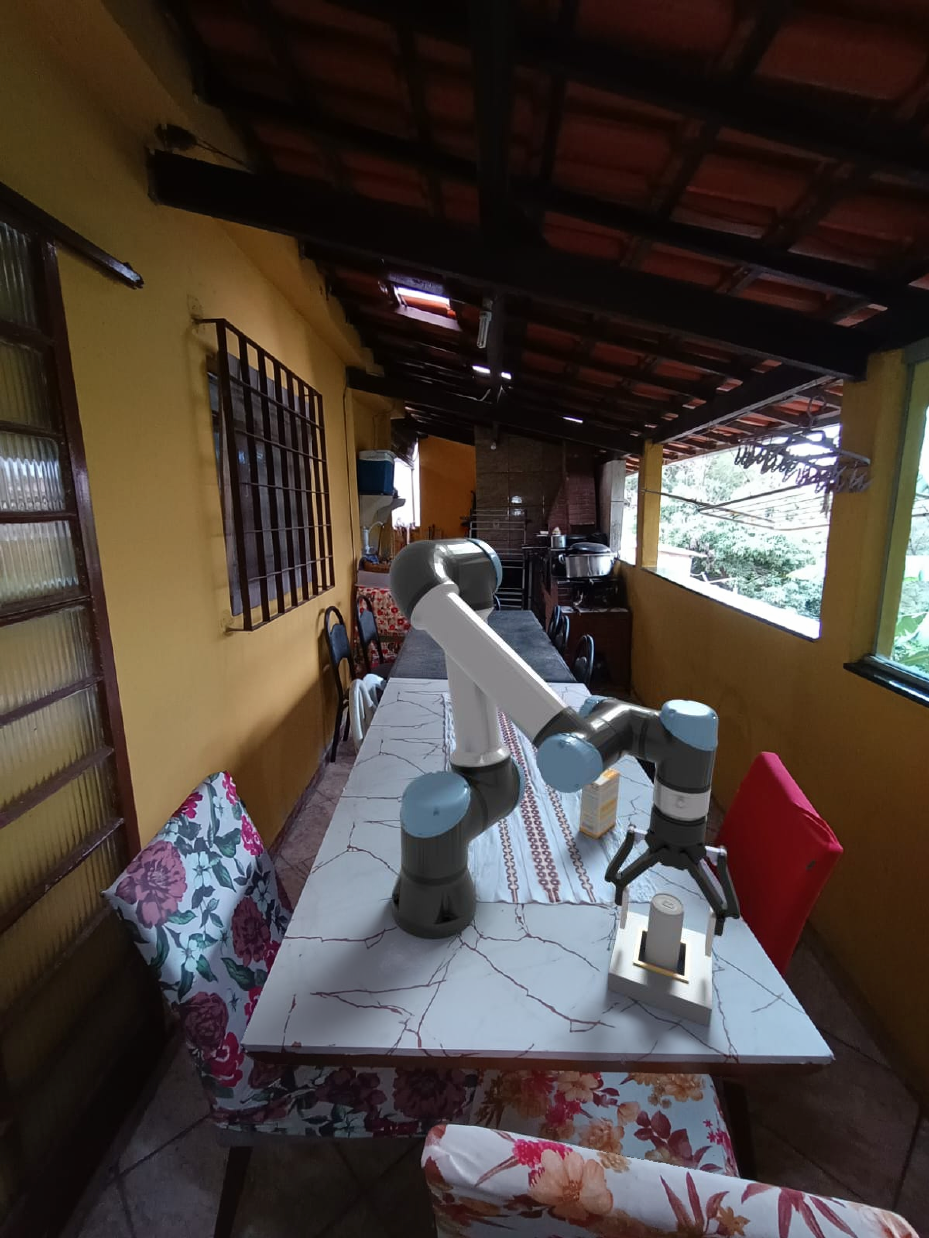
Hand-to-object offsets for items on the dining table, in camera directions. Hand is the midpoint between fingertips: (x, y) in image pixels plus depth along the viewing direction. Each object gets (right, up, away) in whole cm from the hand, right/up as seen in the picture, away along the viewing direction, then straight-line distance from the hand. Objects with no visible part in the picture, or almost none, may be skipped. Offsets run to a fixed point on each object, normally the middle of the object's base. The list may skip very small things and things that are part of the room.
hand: (664, 935), depth 82 cm
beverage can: (0, -6, +1) cm, 6 cm away
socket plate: (0, -6, +1) cm, 6 cm away
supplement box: (-1, +2, +38) cm, 38 cm away
